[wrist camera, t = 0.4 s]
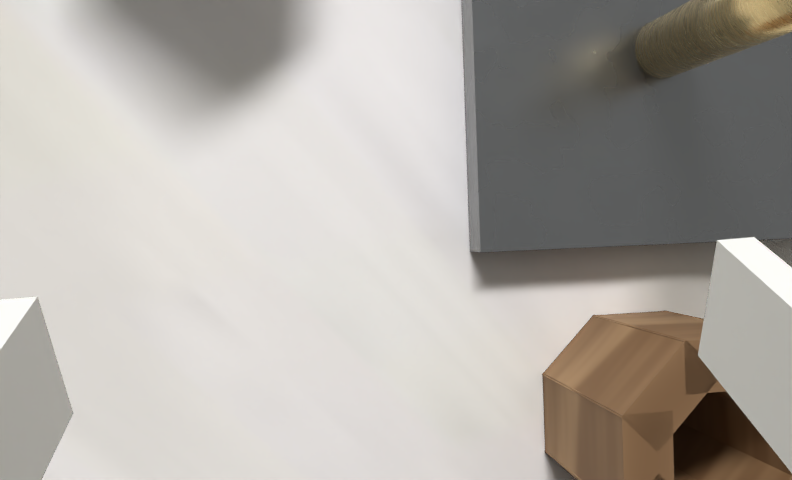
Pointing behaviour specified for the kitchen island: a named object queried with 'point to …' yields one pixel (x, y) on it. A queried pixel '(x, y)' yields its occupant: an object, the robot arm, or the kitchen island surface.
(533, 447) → the kitchen island surface
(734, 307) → the robot arm
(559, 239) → the stand
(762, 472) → the bead
